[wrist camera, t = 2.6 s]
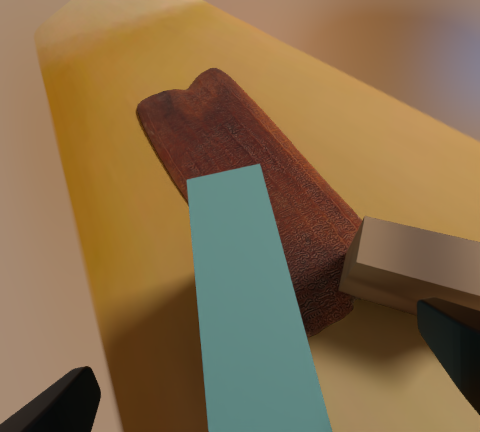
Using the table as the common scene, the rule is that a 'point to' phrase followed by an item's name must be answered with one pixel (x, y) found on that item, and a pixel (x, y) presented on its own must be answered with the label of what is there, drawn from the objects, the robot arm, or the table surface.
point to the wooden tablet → (275, 176)
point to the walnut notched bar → (410, 266)
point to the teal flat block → (249, 312)
